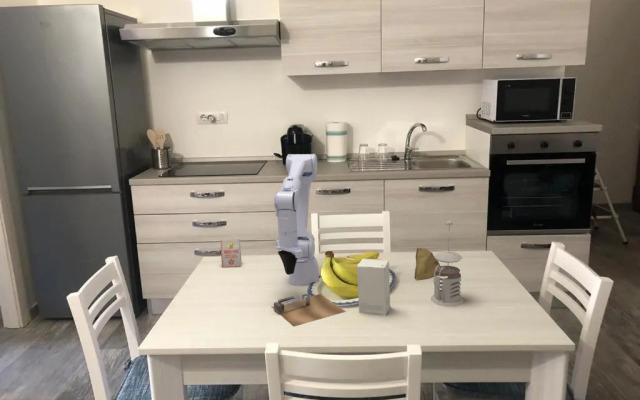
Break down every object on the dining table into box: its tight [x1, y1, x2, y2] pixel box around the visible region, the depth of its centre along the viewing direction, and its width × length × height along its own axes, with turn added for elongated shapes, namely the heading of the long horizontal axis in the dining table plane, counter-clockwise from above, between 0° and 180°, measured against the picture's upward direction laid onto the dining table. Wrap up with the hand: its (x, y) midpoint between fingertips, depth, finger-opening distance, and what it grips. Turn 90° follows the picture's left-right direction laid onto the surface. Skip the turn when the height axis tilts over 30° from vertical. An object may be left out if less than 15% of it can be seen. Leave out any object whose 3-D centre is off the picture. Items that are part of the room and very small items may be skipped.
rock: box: [414, 247, 441, 281], centre depth 177 cm, size 11×9×10 cm
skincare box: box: [356, 258, 391, 316], centre depth 150 cm, size 8×7×16 cm
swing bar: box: [281, 293, 311, 313], centre depth 154 cm, size 9×2×3 cm, turn 123°
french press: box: [430, 220, 464, 307], centre depth 155 cm, size 10×12×25 cm
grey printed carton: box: [220, 239, 243, 269], centre depth 192 cm, size 4×7×10 cm, turn 91°
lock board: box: [271, 293, 347, 327], centre depth 153 cm, size 17×15×4 cm
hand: (289, 273), depth 158 cm, fingers closed
